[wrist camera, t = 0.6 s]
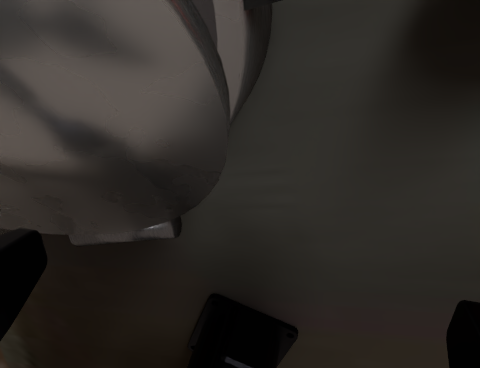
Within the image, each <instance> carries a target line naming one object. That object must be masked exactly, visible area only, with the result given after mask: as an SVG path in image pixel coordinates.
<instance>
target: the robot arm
mask: <svg viewBox="0 0 480 368" xmlns="http://www.w3.org/2000/svg"><path fill="white" fill-rule="evenodd" d="M46 265H47V254H46V251H45V247H44V244H43V240H42V237H41V234H40V233H39V232H38V231H37V230H33V229H27V228H18V229H15V230H13V231H10V232H7V233H5V234H2V235H0V341H1V339H2V338H3V337H4V335H5V334H6V332H7V331H8V329H9V328H10V327H11V325H12V324H13V322H14V320H15V319H16V317H17V316H18V314H19V312H20V310H21V309H22V307H23V305H24V304H25V302H26V300H27V299H28V297H29V295H30V294H31V292H32V290H33V289H34V287H35V285H36V283H37V282H38V280H39V278H40V277H41V275H42V273H43V272H44V270H45V268H46ZM216 301H217V302H216ZM297 337H298V330H297V328H295V327H294V326H291V325H289V324H287V323H284V322H282V321H280V320H277V319H275V318H273V317H270V316H268V315H266V314H263V313H261V312H259V311H256V310H254V309H252V308H249V307H247V306H245V305H242V304H240V303H237V302H235V301H233V300H230V299H228V298H226V297H223V296H221V295H219V294H211V295H210V297H209V299H208V301H207V304H206V306H205V308H204V310H203V313H202V315H201V317H200V319H199V321H198V324H197V326H196V328H195V330H194V332H193V335H192V337H191V339H190V341H189V344H188V348H189V350H191V351H192V352H193V353H192V356H191V359H190V361H189V364H188V366H187V368H276V367H277V366H278V365H279V363H280V362H281V360H282V359H283V358H284V356H285V355H286V353H287V352H288V351H289V349H290V348H291V346H292V345H293V343H294V342H295V341H296V339H297ZM446 341H447V351H448V359H449V368H480V303H479V302H473V301H467V300H462V301H460V302H459V303H458V304H457V307H456V309H455V312H454V314H453V317H452V319H451V322H450V324H449V327H448V330H447V336H446Z"/></svg>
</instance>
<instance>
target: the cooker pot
mask: <svg viewBox="0 0 480 368" xmlns="http://www.w3.org/2000/svg"><path fill="white" fill-rule="evenodd" d="M192 1H193V3H194V5H195V7H196V8H197V10H198V12H199V13H200V15H201V17H202V18H203V20H204V22H205V23H206V25H207V27H208V30H209V32H210V34H211V37H212V39H213V41H214V44H215V46H216V48H217V51H218V53H219V55H220V58H221V60H222V64H223V68H224V72H225V76H226V80H227V84H228V88H229V99H230V114H231V115H230V124H231V123H232V121H233V119H234V118H235V116H236V115H237V113H238V112H239V110H240V109H241V107H242V106H243V104H244V102H245V101H246V99H247V98H248V96H249V95H250V93H251V91H252V89H253V87H254V85H255V83H256V81H257V79H258V77H259V75H260V72H261V69H262V66H263V63H264V60H265V58H266V53H267V49H268V44H269V39H270V34H271V22H272V3H274V2H277V1H281V0H192Z"/></svg>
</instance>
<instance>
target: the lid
mask: <svg viewBox="0 0 480 368" xmlns="http://www.w3.org/2000/svg"><path fill="white" fill-rule="evenodd" d="M230 115H231V114H230V99H229V88H228V84H227V80H226V76H225V72H224V68H223V64H222V60H221V58H220V55H219V53H218V51H217V48H216V46H215V44H214V41H213V39H212V37H211V34H210V32H209V30H208V27H207V25H206V23H205V22H204V20H203V18H202V17H201V15H200V13H199V12H198V10H197V8H196V7H195V5H194V3H193V1H192V0H0V228H3V229H10V230H15V229H18V228H27V229H33V230H37V231H38V232H39V233H45V234H61V235H69V239H70V241H71V243H72V244H73V245H75V246H88V245H99V244H110V243H121V242H133V241H144V240H155V239H166V238H176V237H178V236H179V235H180V232H181V227H182V223H181V217H180V216H181V215H183V214H184V213H186V212H187V211H189V210H191V209H192V208H194V207H195V206H197V205H198V204H199V203H200V202H201V201H202V200H203V199H204V198H205V197H206V196H207V195H208V194H209V193H210V192H211V190H212V189H213V187H214V186H215V185H216V183H217V182H218V180H219V178H220V175H221V173H222V170H223V167H224V165H225V160H226V153H227V146H228V136H229V126H230Z"/></svg>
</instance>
